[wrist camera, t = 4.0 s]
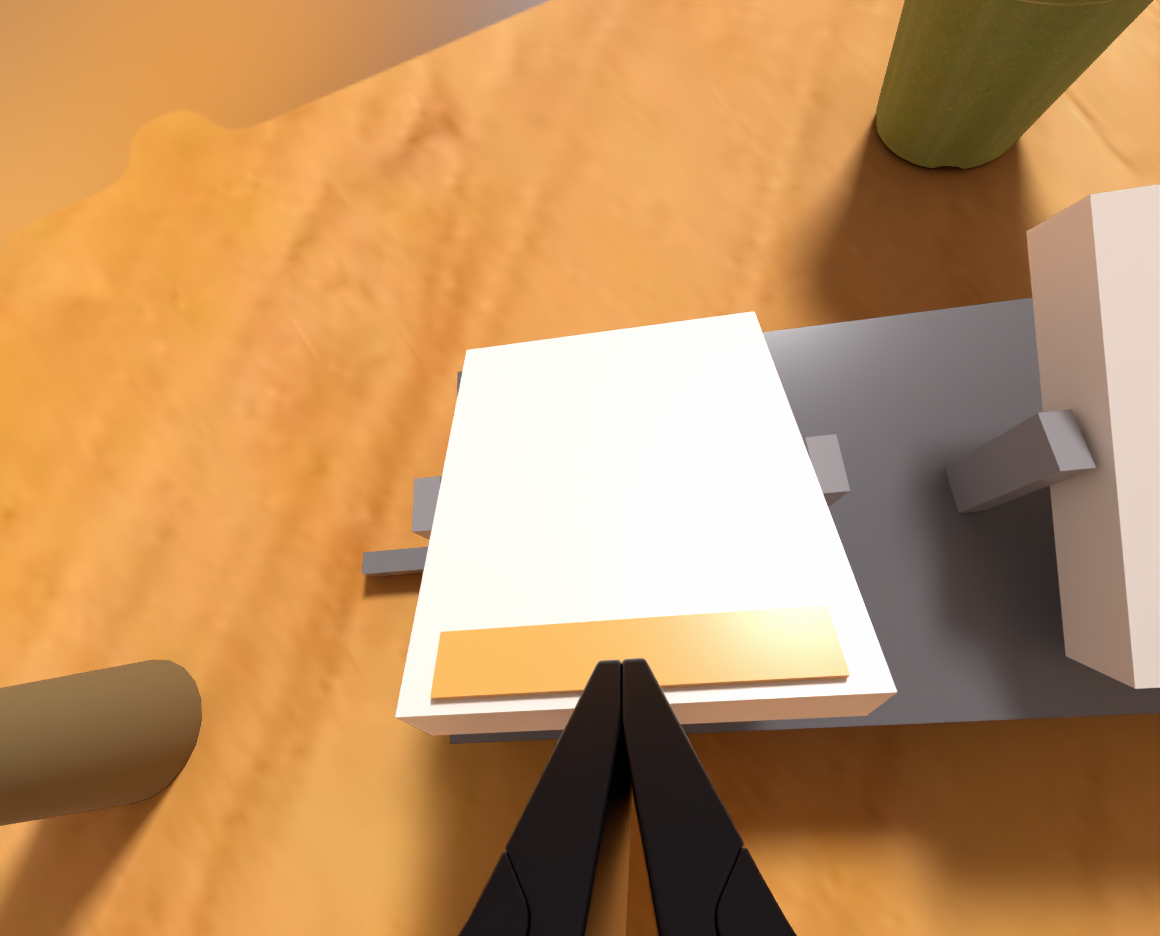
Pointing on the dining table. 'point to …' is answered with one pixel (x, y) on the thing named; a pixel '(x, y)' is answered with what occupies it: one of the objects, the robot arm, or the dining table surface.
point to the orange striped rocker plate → (634, 539)
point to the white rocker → (1105, 422)
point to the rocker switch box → (926, 514)
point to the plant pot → (986, 71)
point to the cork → (94, 739)
